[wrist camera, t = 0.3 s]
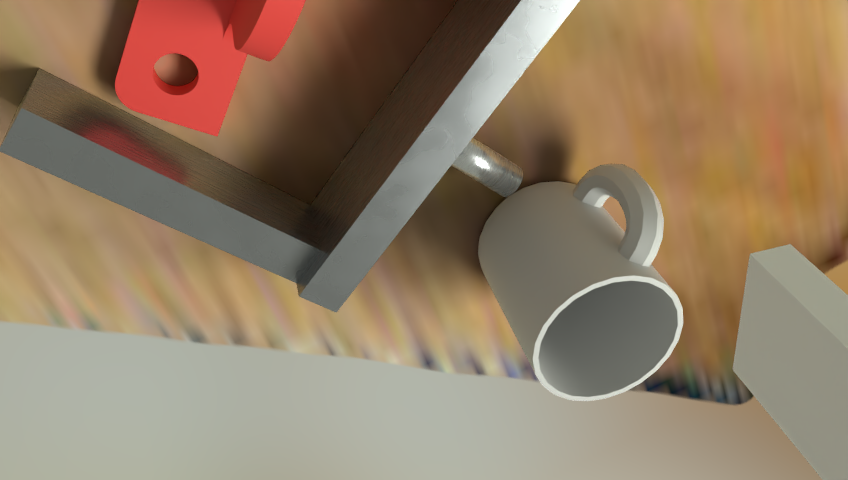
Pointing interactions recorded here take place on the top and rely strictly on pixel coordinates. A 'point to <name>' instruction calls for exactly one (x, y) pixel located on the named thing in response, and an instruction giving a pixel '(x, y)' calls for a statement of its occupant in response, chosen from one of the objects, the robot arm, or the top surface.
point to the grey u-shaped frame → (350, 183)
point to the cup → (583, 282)
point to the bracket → (199, 54)
